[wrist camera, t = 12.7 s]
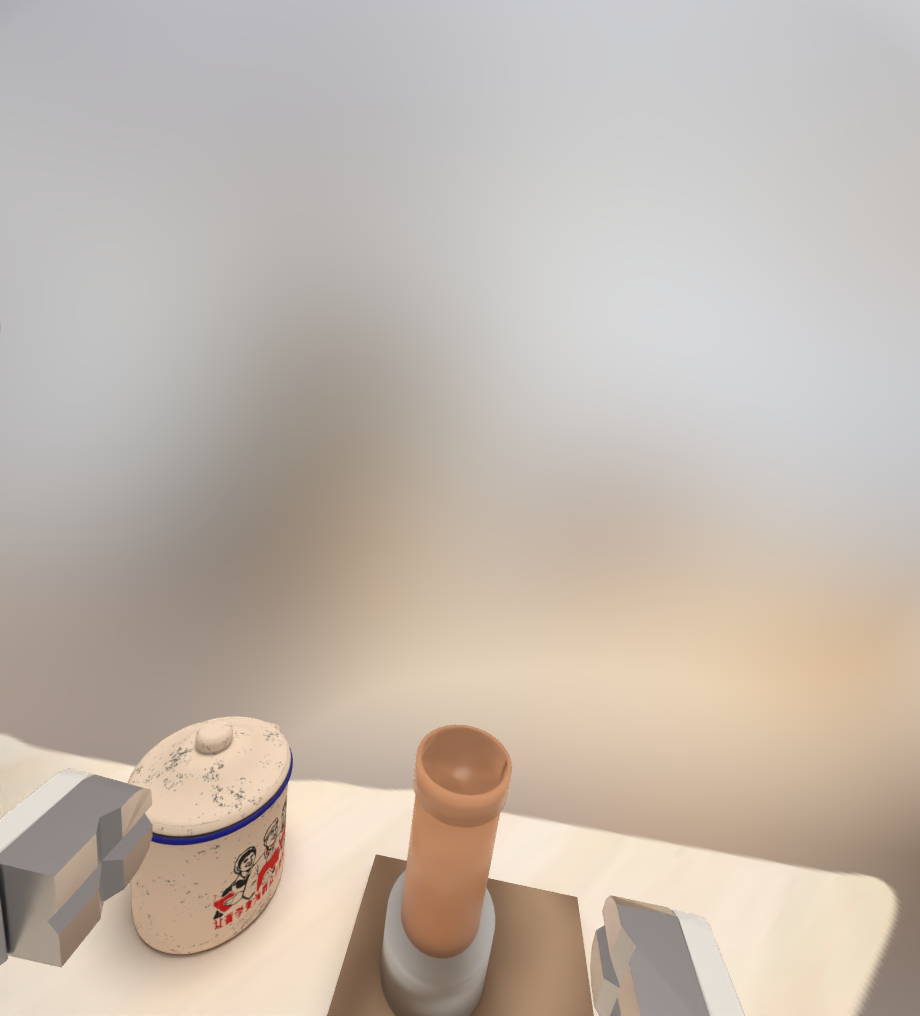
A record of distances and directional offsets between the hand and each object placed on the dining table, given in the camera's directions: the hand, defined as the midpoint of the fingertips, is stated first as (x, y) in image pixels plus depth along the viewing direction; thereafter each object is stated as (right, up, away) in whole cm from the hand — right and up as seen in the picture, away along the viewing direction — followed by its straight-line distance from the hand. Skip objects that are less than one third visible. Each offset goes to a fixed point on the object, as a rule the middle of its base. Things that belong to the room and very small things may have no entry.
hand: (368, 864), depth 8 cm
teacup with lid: (-14, -18, +23) cm, 33 cm away
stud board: (+2, -21, +18) cm, 28 cm away
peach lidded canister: (+1, -16, +17) cm, 24 cm away
